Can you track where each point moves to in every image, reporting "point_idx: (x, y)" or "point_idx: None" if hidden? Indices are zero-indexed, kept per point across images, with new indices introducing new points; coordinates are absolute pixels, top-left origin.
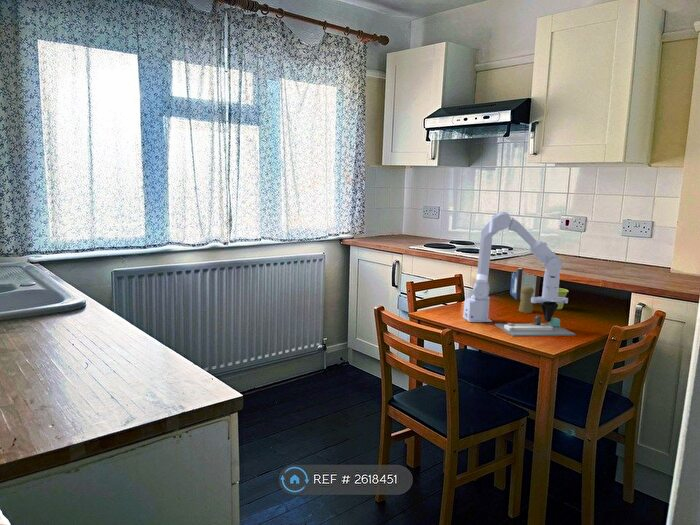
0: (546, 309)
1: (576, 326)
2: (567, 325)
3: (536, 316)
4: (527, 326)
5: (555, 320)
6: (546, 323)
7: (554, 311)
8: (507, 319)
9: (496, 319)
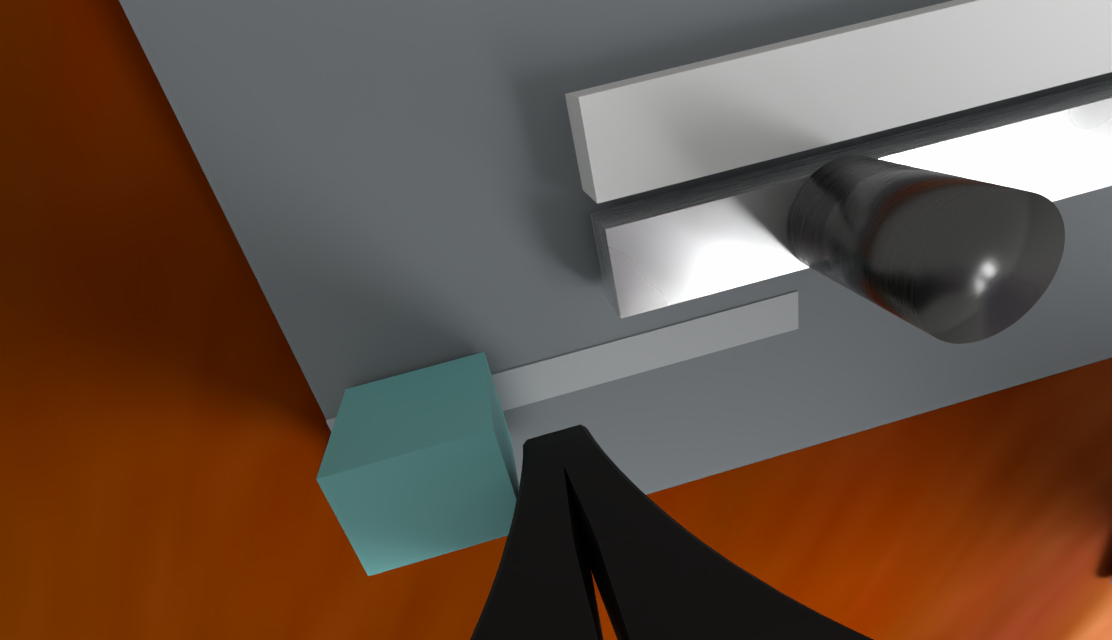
0: (775, 601)
1: (11, 574)
2: (170, 581)
3: (1050, 240)
4: (1077, 66)
5: (435, 430)
6: None
7: (480, 621)
8: (903, 586)
9: (1025, 549)
